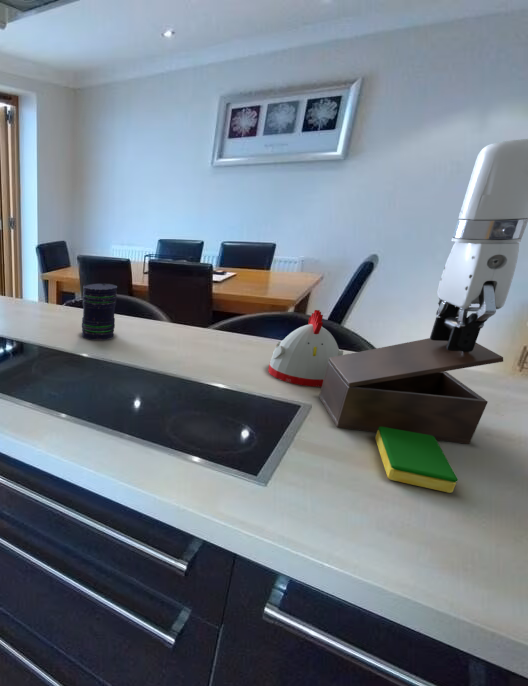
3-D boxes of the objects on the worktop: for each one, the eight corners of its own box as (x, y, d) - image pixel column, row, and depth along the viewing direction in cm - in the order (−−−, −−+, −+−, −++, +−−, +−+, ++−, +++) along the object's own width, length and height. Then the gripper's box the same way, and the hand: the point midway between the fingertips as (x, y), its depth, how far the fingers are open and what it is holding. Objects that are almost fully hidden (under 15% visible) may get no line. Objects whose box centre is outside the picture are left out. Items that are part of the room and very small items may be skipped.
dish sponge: (387, 480, 64) (392, 465, 63) (374, 437, 75) (378, 425, 74) (452, 494, 61) (459, 479, 60) (429, 448, 72) (434, 435, 71)
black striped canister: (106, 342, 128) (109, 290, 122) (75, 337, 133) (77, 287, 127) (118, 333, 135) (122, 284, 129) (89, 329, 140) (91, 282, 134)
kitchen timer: (272, 382, 98) (286, 316, 92) (264, 361, 110) (277, 302, 104) (346, 390, 93) (366, 321, 87) (330, 367, 105) (347, 305, 99)
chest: (431, 409, 84) (446, 371, 81) (469, 444, 72) (488, 401, 69) (318, 397, 90) (328, 361, 87) (336, 427, 79) (348, 387, 76)
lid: (458, 336, 78) (455, 307, 77) (503, 361, 67) (501, 327, 65) (329, 361, 87) (324, 335, 86) (349, 387, 76) (344, 357, 74)
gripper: (561, 235, 58) (510, 363, 65) (488, 226, 73) (453, 332, 80) (487, 237, 61) (446, 360, 68) (431, 228, 76) (401, 330, 83)
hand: (450, 344), depth 74 cm, fingers closed on lid, 5 cm apart
